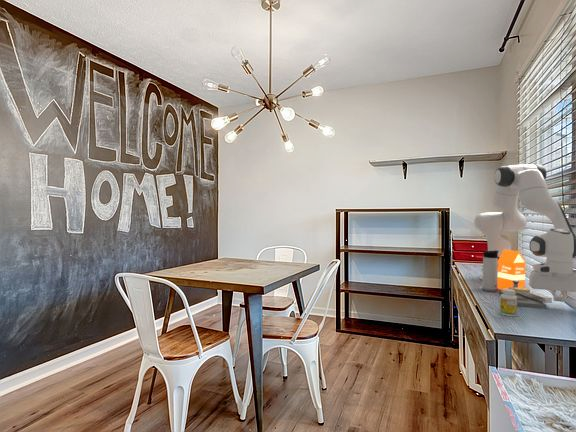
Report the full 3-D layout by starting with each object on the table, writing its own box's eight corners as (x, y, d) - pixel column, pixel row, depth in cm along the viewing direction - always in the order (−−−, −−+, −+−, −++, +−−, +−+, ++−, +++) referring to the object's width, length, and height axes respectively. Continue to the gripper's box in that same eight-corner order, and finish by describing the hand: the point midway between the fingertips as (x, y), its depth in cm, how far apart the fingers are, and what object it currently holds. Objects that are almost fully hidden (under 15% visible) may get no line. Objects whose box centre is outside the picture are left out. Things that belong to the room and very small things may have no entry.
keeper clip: (508, 295, 152) (508, 286, 152) (526, 297, 150) (527, 288, 150) (510, 298, 148) (510, 288, 148) (529, 299, 146) (529, 290, 146)
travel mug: (499, 292, 165) (500, 251, 165) (485, 291, 166) (486, 251, 166) (494, 289, 171) (495, 250, 171) (480, 288, 172) (481, 249, 172)
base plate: (499, 292, 164) (499, 289, 164) (529, 295, 159) (529, 292, 159) (512, 305, 142) (512, 301, 142) (546, 308, 138) (546, 305, 138)
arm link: (507, 291, 160) (507, 279, 160) (516, 291, 160) (516, 279, 160) (543, 303, 139) (543, 290, 139) (553, 303, 140) (553, 290, 140)
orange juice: (508, 287, 175) (509, 249, 175) (525, 291, 167) (526, 251, 166) (497, 288, 173) (497, 249, 172) (512, 292, 164) (513, 251, 164)
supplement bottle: (518, 317, 126) (519, 292, 126) (501, 315, 128) (502, 290, 128) (514, 313, 131) (515, 288, 131) (498, 311, 133) (499, 287, 133)
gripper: (587, 268, 139) (585, 301, 139) (528, 265, 146) (527, 296, 146) (594, 271, 133) (593, 306, 133) (532, 267, 140) (531, 300, 140)
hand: (558, 301), depth 140 cm, fingers closed
